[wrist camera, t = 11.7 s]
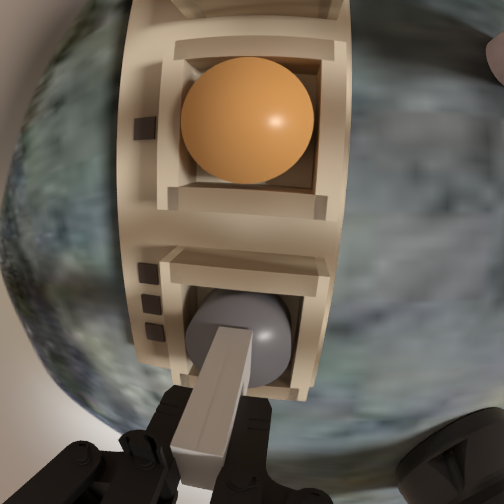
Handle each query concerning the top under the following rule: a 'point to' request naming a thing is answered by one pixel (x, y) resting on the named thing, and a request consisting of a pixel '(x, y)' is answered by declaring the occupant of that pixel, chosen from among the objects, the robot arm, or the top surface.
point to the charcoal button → (244, 317)
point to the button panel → (223, 192)
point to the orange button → (247, 120)
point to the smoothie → (496, 56)
